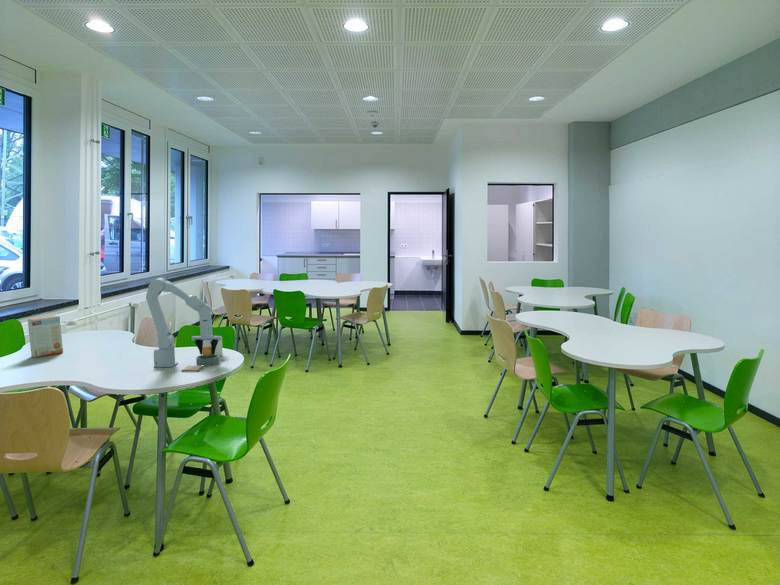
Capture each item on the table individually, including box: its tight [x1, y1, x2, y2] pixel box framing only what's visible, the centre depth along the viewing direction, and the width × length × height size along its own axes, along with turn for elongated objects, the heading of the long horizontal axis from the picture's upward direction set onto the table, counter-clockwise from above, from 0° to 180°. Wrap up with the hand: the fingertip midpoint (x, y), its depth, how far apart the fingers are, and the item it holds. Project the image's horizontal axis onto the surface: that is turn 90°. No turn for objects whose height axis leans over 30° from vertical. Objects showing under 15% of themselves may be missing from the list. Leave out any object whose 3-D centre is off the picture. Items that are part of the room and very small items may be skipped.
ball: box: [202, 346, 212, 357], centre depth 271 cm, size 6×6×6 cm
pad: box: [181, 365, 205, 372], centre depth 260 cm, size 8×8×1 cm
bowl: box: [195, 354, 220, 366], centre depth 271 cm, size 11×11×4 cm
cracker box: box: [27, 315, 64, 359], centre depth 291 cm, size 14×6×21 cm, turn 146°
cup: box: [203, 336, 223, 357], centre depth 287 cm, size 10×10×10 cm
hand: (207, 354), depth 271 cm, fingers closed on ball, 5 cm apart
